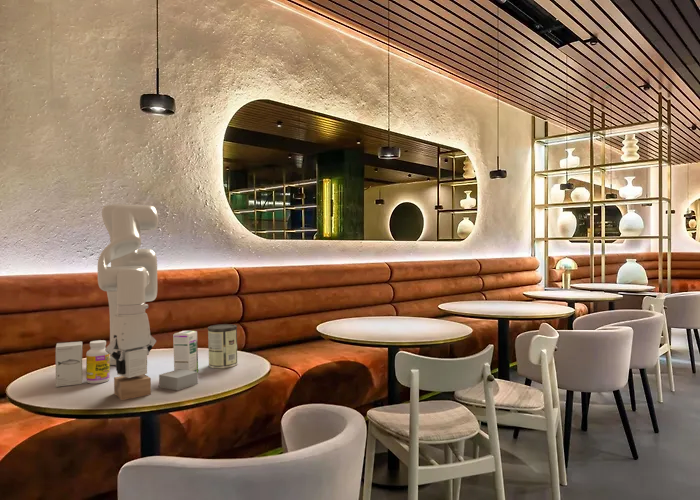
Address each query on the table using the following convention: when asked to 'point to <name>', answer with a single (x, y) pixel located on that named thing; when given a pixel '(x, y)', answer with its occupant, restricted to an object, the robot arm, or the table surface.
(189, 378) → the grey block
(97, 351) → the supplement bottle
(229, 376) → the table surface
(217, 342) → the coffee can
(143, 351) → the product box
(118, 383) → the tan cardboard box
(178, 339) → the syrup box
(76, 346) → the supplement box
